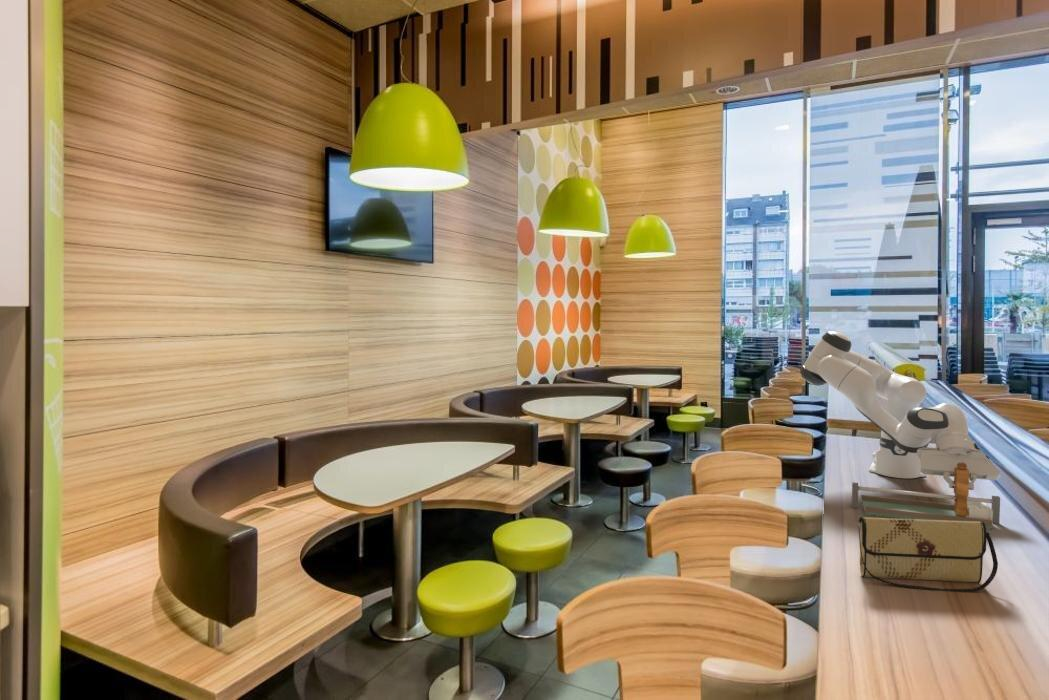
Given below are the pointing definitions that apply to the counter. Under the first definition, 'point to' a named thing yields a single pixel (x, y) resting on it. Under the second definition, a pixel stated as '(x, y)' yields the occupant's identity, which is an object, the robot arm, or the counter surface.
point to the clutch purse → (924, 550)
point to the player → (961, 488)
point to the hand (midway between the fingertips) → (961, 488)
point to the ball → (971, 507)
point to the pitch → (925, 506)
